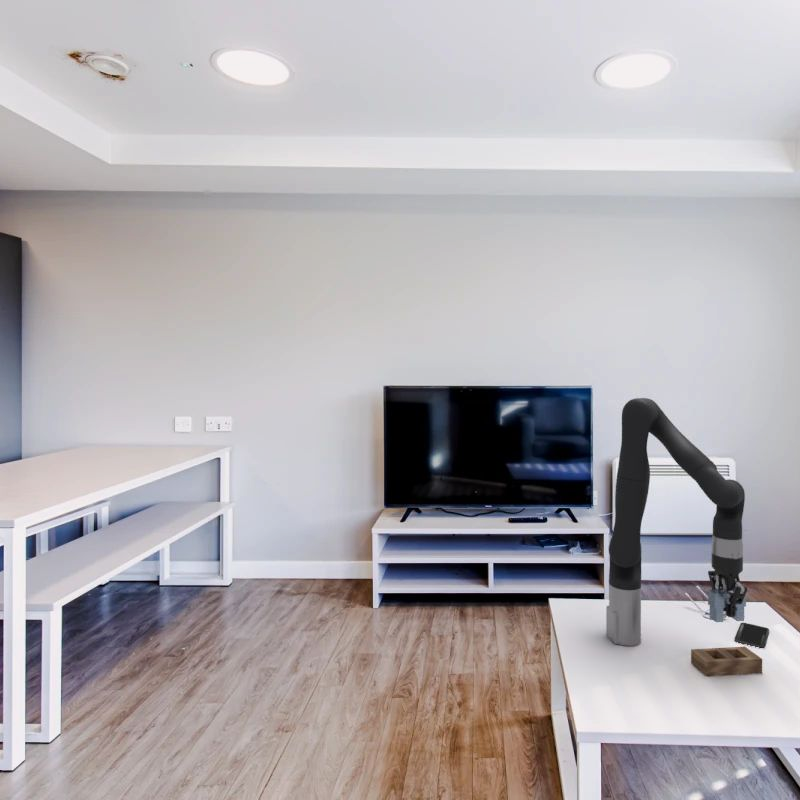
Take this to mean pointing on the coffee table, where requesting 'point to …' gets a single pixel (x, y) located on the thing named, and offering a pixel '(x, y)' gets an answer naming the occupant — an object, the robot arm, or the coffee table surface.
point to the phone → (752, 635)
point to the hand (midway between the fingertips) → (726, 613)
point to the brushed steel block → (723, 605)
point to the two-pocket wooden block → (726, 661)
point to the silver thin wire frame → (700, 608)
